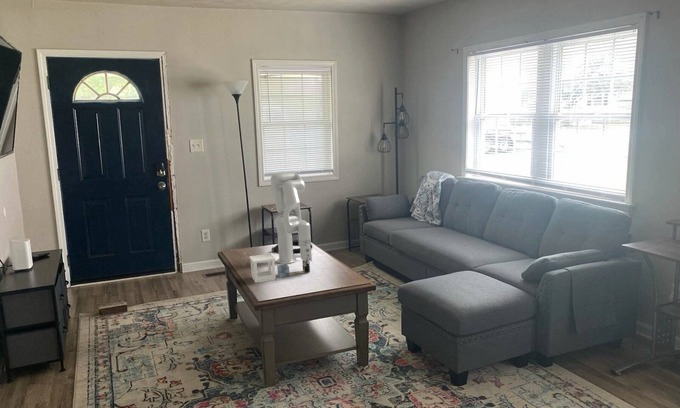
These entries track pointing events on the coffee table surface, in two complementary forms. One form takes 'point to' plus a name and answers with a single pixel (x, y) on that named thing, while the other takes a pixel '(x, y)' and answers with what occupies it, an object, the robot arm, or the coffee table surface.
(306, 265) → the robot arm
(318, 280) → the coffee table surface
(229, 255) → the coffee table surface
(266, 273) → the white open frame box
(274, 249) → the cable lock
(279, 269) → the block
